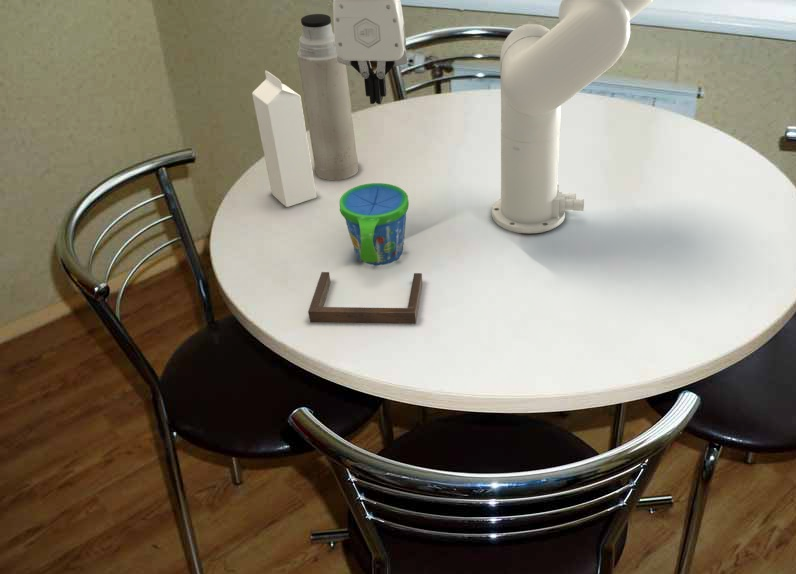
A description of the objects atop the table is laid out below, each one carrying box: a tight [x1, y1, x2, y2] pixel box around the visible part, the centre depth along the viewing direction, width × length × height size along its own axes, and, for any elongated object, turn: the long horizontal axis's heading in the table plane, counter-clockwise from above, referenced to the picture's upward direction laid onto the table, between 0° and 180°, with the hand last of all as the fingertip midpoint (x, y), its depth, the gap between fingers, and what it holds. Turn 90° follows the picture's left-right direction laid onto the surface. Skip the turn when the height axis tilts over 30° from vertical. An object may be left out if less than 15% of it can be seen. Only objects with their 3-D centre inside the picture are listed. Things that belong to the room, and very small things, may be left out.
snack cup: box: [339, 182, 409, 267], centre depth 132 cm, size 16×10×10 cm
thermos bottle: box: [296, 13, 359, 181], centre depth 148 cm, size 8×8×28 cm
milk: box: [251, 69, 317, 208], centre depth 143 cm, size 6×6×22 cm
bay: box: [307, 271, 424, 325], centre depth 124 cm, size 15×10×2 cm, turn 89°
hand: (376, 100), depth 131 cm, fingers closed
